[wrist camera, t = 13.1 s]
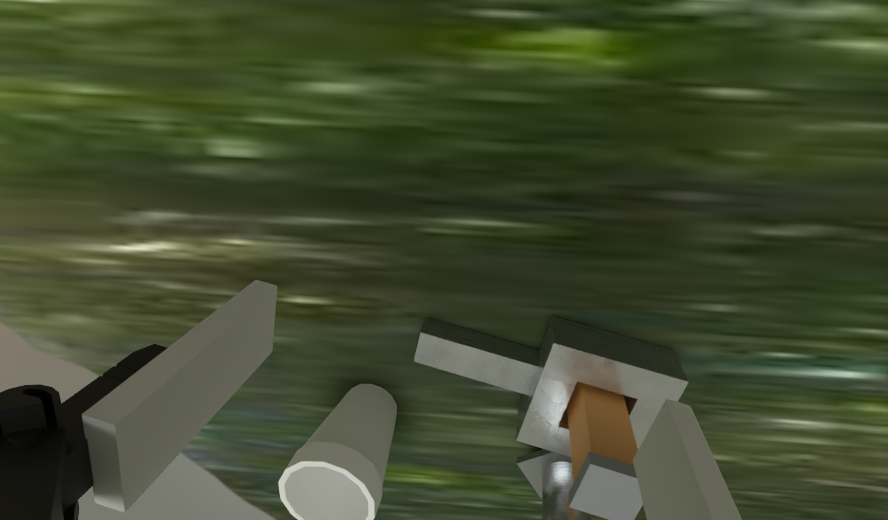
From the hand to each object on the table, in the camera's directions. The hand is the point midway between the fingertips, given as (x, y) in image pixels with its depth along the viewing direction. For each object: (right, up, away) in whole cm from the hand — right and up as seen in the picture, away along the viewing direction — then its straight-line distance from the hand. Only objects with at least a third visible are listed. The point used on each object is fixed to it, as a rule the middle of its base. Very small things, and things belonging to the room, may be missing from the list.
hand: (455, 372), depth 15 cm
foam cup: (-9, -13, +39) cm, 42 cm away
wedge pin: (+15, -9, +32) cm, 37 cm away
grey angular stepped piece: (+8, -11, +35) cm, 37 cm away
